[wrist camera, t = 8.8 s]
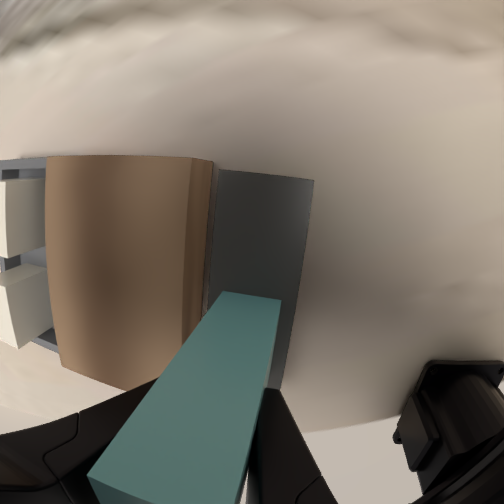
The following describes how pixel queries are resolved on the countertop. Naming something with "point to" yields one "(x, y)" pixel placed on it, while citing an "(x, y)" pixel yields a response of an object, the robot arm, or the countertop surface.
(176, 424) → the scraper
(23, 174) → the box
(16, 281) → the tile
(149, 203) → the walnut board
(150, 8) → the countertop surface
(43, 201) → the tile
